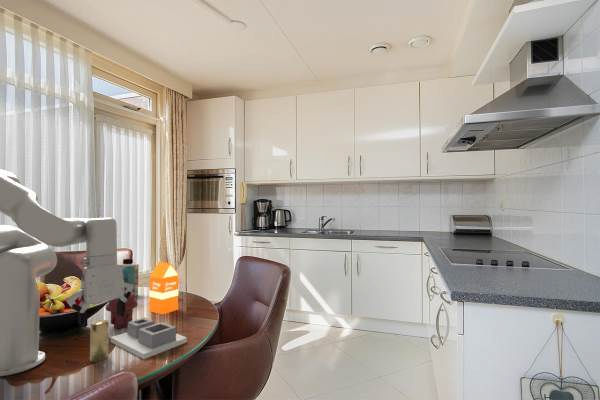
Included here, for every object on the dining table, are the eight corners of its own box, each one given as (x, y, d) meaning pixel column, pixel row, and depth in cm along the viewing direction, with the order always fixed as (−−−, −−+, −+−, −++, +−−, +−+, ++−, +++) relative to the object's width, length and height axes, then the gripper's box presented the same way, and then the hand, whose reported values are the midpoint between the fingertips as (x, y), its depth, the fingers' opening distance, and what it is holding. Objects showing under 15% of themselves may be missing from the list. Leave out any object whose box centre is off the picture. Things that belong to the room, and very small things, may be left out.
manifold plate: (143, 359, 89) (143, 339, 89) (110, 342, 100) (110, 324, 101) (186, 342, 100) (186, 324, 100) (152, 328, 112) (152, 312, 112)
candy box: (138, 294, 157) (139, 263, 157) (134, 297, 152) (134, 265, 153) (120, 294, 156) (121, 263, 157) (115, 297, 152) (116, 265, 153)
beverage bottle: (120, 301, 145) (121, 258, 145) (136, 300, 147) (137, 257, 147) (116, 305, 138) (117, 260, 139) (133, 304, 140) (134, 259, 141)
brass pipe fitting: (93, 363, 86) (94, 326, 87) (87, 359, 89) (87, 323, 89) (110, 357, 90) (111, 322, 90) (103, 353, 93) (104, 319, 93)
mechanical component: (143, 321, 119) (123, 331, 109) (120, 320, 121) (98, 329, 111) (143, 288, 119) (123, 296, 109) (120, 287, 121) (99, 294, 111)
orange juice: (161, 314, 127) (162, 264, 127) (148, 310, 131) (149, 262, 132) (178, 309, 133) (179, 262, 134) (165, 306, 138) (166, 260, 139)
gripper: (72, 267, 81) (72, 333, 81) (138, 257, 95) (139, 314, 95) (61, 264, 85) (61, 328, 85) (126, 255, 100) (127, 310, 99)
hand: (102, 320), depth 90 cm, fingers open, 9 cm apart
